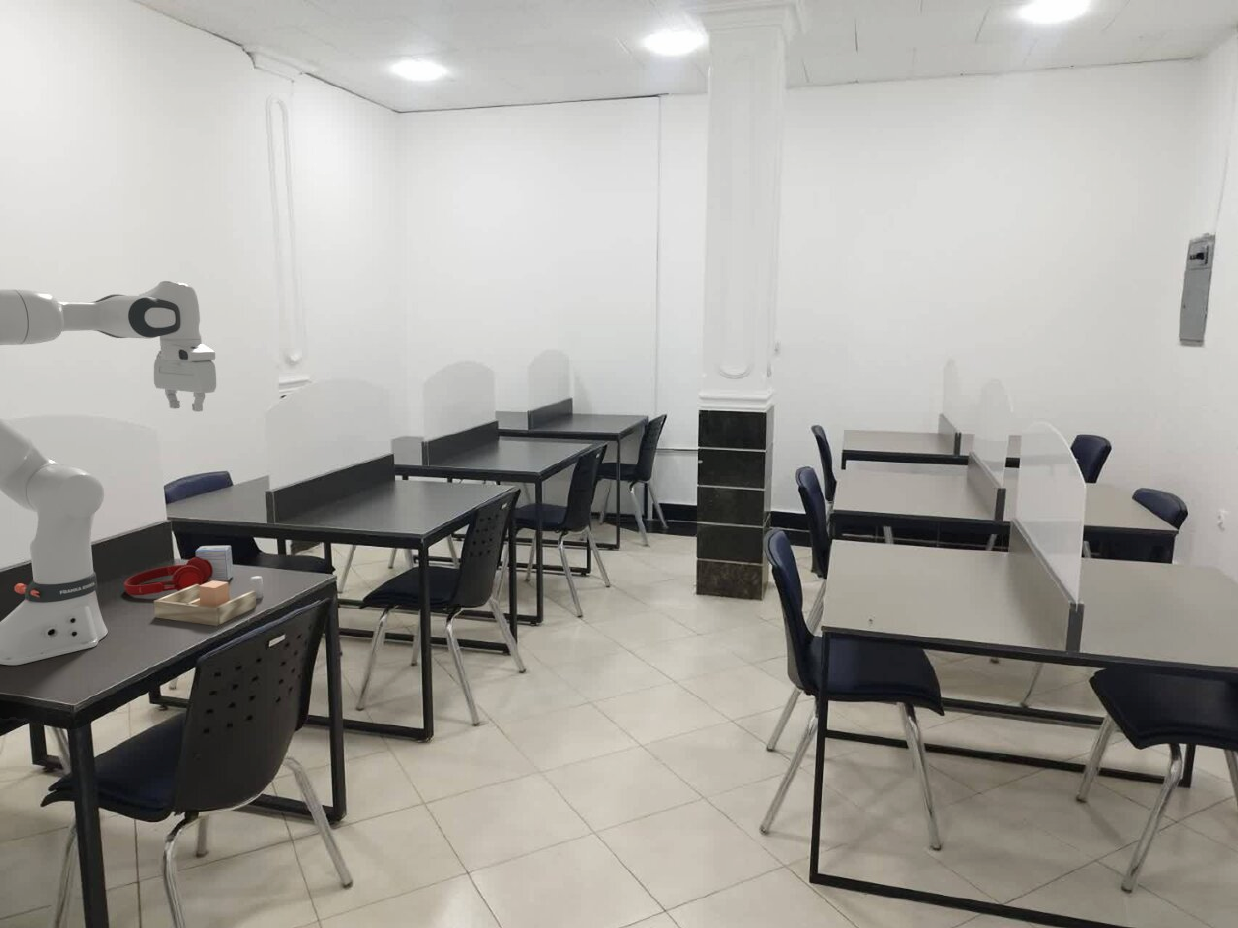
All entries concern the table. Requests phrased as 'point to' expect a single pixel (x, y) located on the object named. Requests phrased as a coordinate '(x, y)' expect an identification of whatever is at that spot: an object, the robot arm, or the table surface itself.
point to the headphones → (182, 578)
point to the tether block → (224, 591)
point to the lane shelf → (201, 607)
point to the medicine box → (218, 561)
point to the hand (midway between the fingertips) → (186, 409)
